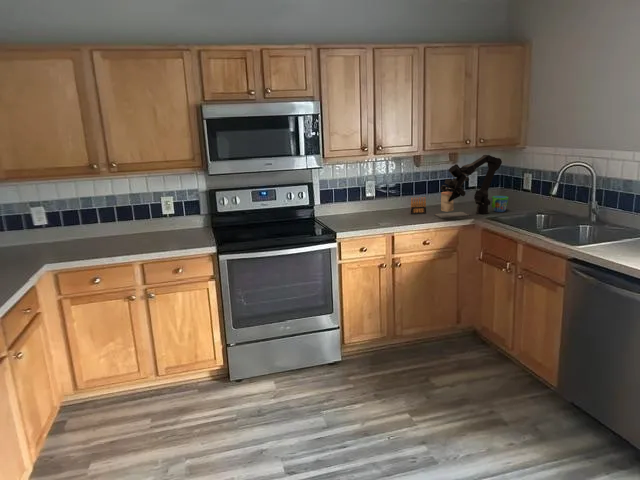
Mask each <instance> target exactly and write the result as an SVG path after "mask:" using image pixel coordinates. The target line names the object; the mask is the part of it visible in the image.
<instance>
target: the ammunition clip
mask: <svg viewBox="0 0 640 480" xmlns="http://www.w3.org/2000/svg"><path fill="white" fill-rule="evenodd" d="M426 201H427V200H426V197H425V196H424V197H423V196H421V197H420V196H419V197H411V201H410V215H426V214H427V202H426Z"/></svg>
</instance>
